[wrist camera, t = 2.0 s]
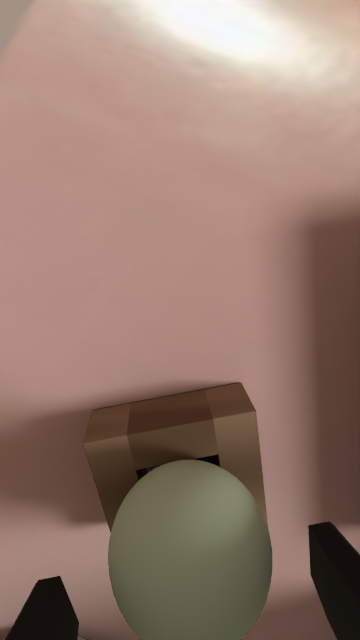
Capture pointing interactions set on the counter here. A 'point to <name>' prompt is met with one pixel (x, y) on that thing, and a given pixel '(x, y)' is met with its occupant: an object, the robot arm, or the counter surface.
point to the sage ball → (190, 554)
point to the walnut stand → (174, 440)
